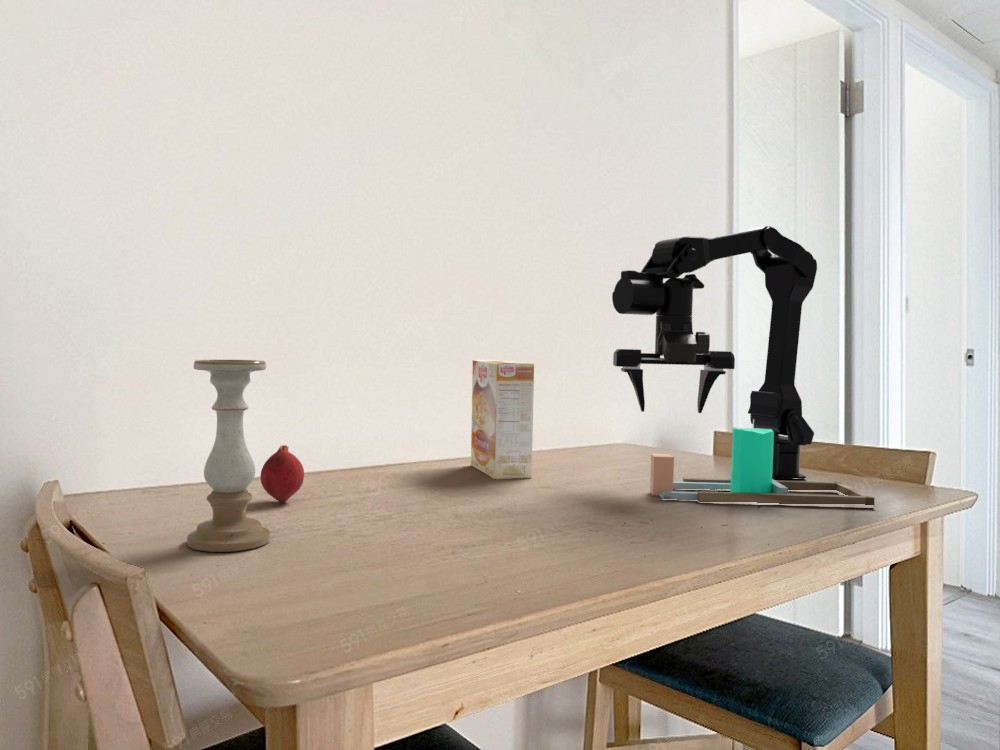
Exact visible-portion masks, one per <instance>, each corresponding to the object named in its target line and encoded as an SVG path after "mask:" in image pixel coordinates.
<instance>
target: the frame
mask: <svg viewBox="0 0 1000 750" xmlns="http://www.w3.org/2000/svg"><path fill="white" fill-rule="evenodd" d="M674 467H675V456H673V455H672V454H671V453H669V454H667V453H664V454H663V453H651V454H650V476H649V477H650V485H649V493H650V492H651V493H652V494H653V495H659V496H660V497H661V498H662V499H677V500H698V491H674V490H673V489H710V490H715V489H716V490H717V489H721V490H722V489H731V483H706V482H683V481H674V473H675V471H674V469H675V468H674ZM651 493H650V494H651ZM772 493H776V494H789V492H788V488H787V487H785V486H784V485H782V484H780V483H778V482H777V481H775V479H774V478H772ZM652 494H651V495H652ZM653 495H652V496H653ZM659 496H658V497H659ZM660 497H659V498H660ZM661 498H660V499H661ZM662 499H661V500H662Z"/></svg>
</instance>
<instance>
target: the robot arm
mask: <svg viewBox="0 0 1000 750" xmlns="http://www.w3.org/2000/svg"><path fill="white" fill-rule="evenodd" d="M651 252H652V253H651V256H650V257H649V259H648V260H647V262H646V263H645V265H644V266H643V268H642V269H641V270H640V272H639V271H636V270H628V269H627V270H622V271H620V279H619V280H618V281H617V283H616V284H615V287H614V289H613V292H612V293H611V294H612V295H611V297H612V304H613V305H612V306H613V307H614V310H615V311H616V312H617V313H618V314H620V315H641V316H643V315H645V316H653V315H655V341H654V342H655V343H654V345H655V346H654V353H650V352H649V353H648V352H647V353H646V352H645V353H644V352H642V349H636V348H635V349H633V348H631V349H630V348H616V350H615V351H614V352H613V359H612V360H613V362H612V363H613V367H614V366H615V367H621V368H620V371H621V372H622V373H623V372H624V373H627V374H628V375H627V376H628V377H629V380H630V382H631V384H632V386H633V389H634V392H635V396H636V398H637V403H638V405H639V408H640V412H641V413H644V412H645V403H646V402H645V391H644V390H645V389H644V369H642V368H641V365H642V364H643V365H644V364H645V365H678V366H679V365H681V366H683V365H685V366H687V365H688V366H703V369H700V370H699V371H700V373H699V382H698V383H699V384H698V394H697V401H696V402H697V404H696V405H697V413H698V414H702V413H703V409H704V407H705V405H706V402H707V399H708V397H709V394H710V391H711V389H712V387H713V385H714V383H715V382H716V380H717V379H718V377H719V376H721V375H726V372H727V371H725V370H735V365H736V364H735V362H736V359H735V355H734V354H733V352H732V351H727V350H726V351H723V350H721V351H720V350H710V347H711V346H710V343H711V341H710V339H711V338H710V337H711V334H710V333H709V332H708V331H695V333H694V332H693V304H694V303H693V302H694V301H693V300H694V299H693V298H694V290H701V289H704V288H705V284H704V283H703V282H702V281H701V280H700V279H698V277H697V276H696V273H693V272H696V271H697V270H700V269H702V268H704V267H706V266H707V265H708V264H710V263H711V262H714V261H716V260H721V259H724V258H729V257H735V256H739V255H743V254H749V253H750V254H751V255H752V258H753V262H754V264H755V266H756V267H757V268H758V269H759V270H760V271H761V272H762V273H763V274H764V284H765V288H766V291H767V293H768V295H769V297H770V299H771V314H770V322H769V323H770V324H769V325H770V326H769V333H768V334H769V335H768V344H767V352H766V353H767V354H766V365H765V375H764V382H763V384H762V385H761V387H759V389H758V390H751V392H750V396H749V399H750V404H749V409H748V411H747V414H749V415H750V423H751V425H753V419H754V428H759V429H772V431H773V432H774V446H773V472H772V479H780V478H806V479H807V476H806V475H804V474H802V473H801V472H800V470H801V469H800V468H801V466H800V465H801V463H800V462H801V446H807V445H812V443H813V440H814V436H815V432H814V430H813V429H812V428H811V426H810V425H809V424H808V422H807V421H806V419H805V418H804V417H803V403H802V399H801V396H800V395H799V392H798V390H797V388H796V386H795V380H796V368H797V360H798V349H799V339H800V331H801V330H800V329H801V321H802V320H801V319H802V311H803V310H802V308H803V303H804V301H805V300H806V298H807V297H808V296H809V294H810V293H811V291H812V290H813V288H814V285H815V279H816V275H817V270H818V262H817V260H816V258H814V256H813V255H812V253H811V252H810V251H808V250H806V248H804V247H803V246H802V245H801V244H800V243H798V242H795V241H794V240H792V239H791V238H789V237H786V236H784V235H783V234H782V233H781V232H780V231H778V229H776V228H774V226H773V227H772V226H769V225H765V226H760V227H758V226H757V227H752V228H750V229H748V230H745V231H740V232H734V233H731V234H725V235H719V236H715V237H704V236H681V237H676V238H667V239H662V240H660V241H658V242H656V243H655V244H654V247H653V249H652V251H651ZM683 274H685V275H684V277H681V276H682V275H683ZM665 279H666V281H665V282H664V280H665Z"/></svg>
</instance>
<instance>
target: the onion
mask: <svg viewBox="0 0 1000 750" xmlns="http://www.w3.org/2000/svg"><path fill="white" fill-rule="evenodd" d="M304 479H305V470H304V466H303V464H302V462H301V461H300V460H299V458H297V456H296V455H295V454H293V453H291V452H289V446H288V445H286V444H281V445H280V446H279V447H278V449H277V451H276V452H275V453H273V454H272V455H270V456H269V458H267V460H266V461H265V462H264V464H263V466H262V468H261V471H260V483H261V485H262V486H261V487H262V488H263V489H264V490H265V492H266V493H267V494H268V495H269V496H271V497H272V498H273V499H275V500H276V501H278V503H285V502H287V501H288V500H289V499H290V498H291V497H292V496H294V495H295V494H297V492H298V491H299V490H301V487H302V485H303V483H304Z"/></svg>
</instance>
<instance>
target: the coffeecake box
mask: <svg viewBox="0 0 1000 750" xmlns="http://www.w3.org/2000/svg"><path fill="white" fill-rule="evenodd" d="M534 380H535V363H529V362H521V361H512V360H499V359H473V360H472V380H471V381H472V382H471V383H472V384H471V385H472V386H471V391H472V393H471V395H472V396H471V435H470V436H471V438H470V439H471V447H470V449H471V450H470V454H471V455H470V466H472V467H473V468H475V469H476V470H478V471H480V472H482V473H483V474H486V475H487V476H488V477H490V478H492V479H494V480H510V479H512V480H513V479H514V480H515V479H531V478H533V435H534V434H533V431H534V391H535V389H534V386H535V385H534V384H535V381H534Z"/></svg>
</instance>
